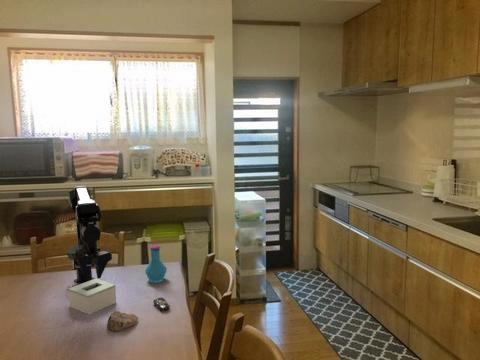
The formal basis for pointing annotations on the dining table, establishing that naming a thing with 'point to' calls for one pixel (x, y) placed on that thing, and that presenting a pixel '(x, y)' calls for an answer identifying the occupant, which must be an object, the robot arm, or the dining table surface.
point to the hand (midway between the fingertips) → (91, 275)
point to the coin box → (92, 296)
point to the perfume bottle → (155, 266)
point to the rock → (121, 320)
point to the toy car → (161, 304)
